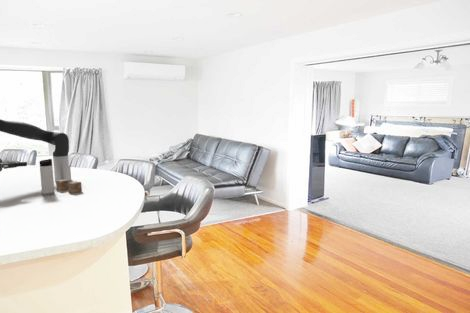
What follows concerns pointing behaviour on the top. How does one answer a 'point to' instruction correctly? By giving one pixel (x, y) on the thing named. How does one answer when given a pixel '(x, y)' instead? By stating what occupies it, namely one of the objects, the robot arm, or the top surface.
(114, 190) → the top surface
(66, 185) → the walnut block two
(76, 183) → the walnut block one
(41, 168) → the travel mug
